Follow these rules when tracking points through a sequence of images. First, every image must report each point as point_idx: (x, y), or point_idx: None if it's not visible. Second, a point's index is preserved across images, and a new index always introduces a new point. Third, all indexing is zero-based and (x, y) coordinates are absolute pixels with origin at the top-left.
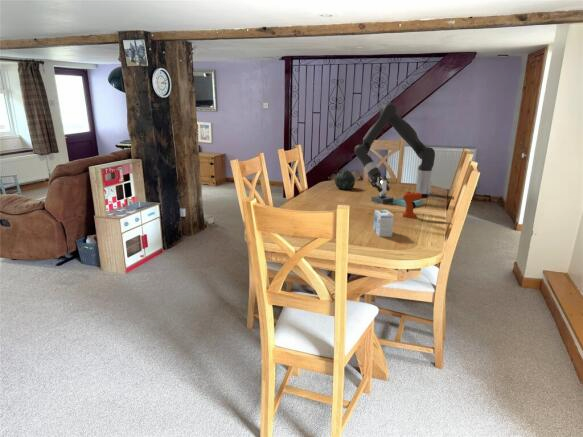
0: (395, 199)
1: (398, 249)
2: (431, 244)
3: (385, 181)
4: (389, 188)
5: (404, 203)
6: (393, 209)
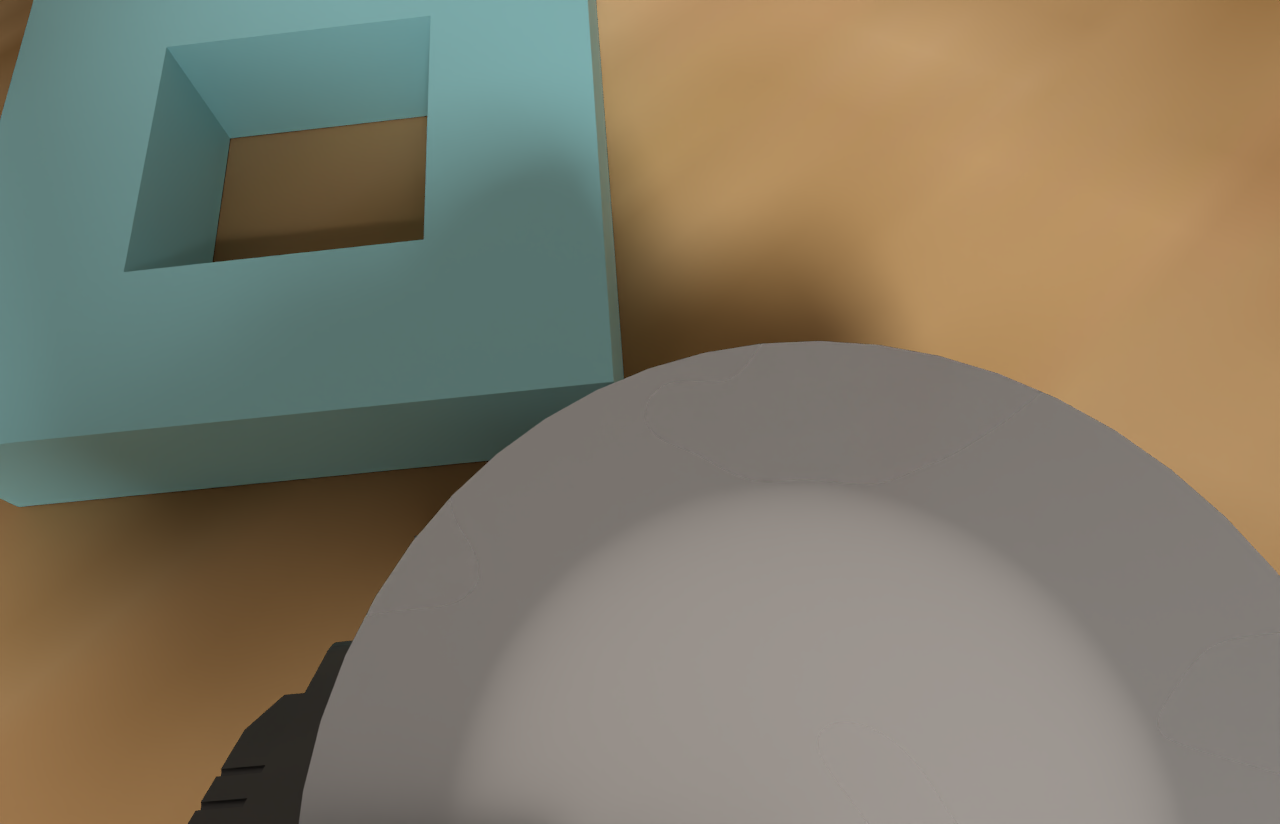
0: (587, 303)
1: None
2: None
3: (860, 372)
4: (340, 657)
5: (593, 43)
6: (1057, 17)
